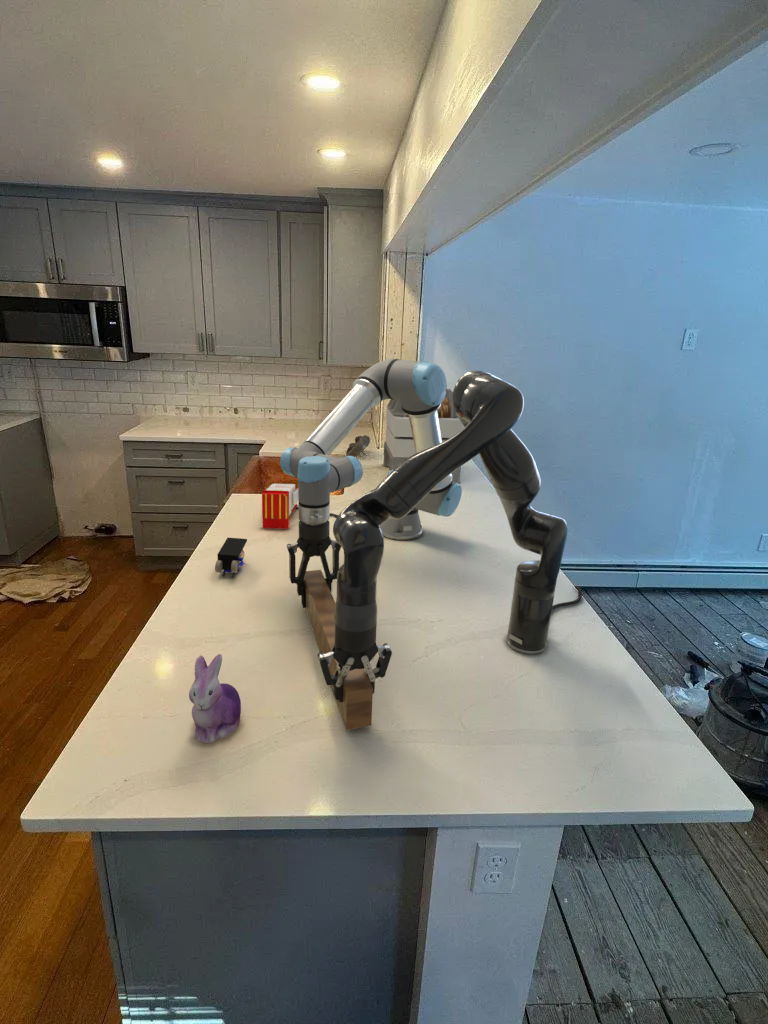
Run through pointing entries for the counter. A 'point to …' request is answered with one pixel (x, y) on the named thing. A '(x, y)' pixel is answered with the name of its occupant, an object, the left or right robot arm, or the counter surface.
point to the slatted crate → (401, 434)
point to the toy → (278, 505)
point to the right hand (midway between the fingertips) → (354, 696)
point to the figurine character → (230, 556)
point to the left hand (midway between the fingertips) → (314, 604)
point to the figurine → (213, 702)
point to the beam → (323, 625)
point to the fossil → (358, 446)
